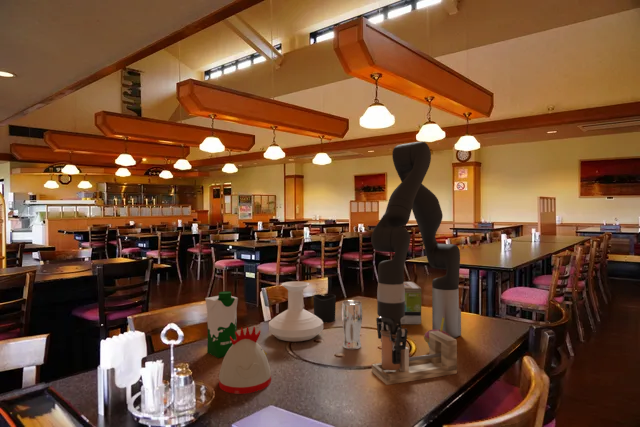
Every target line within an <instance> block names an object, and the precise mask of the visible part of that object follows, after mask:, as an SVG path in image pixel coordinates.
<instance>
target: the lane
mask: <svg viewBox="0 0 640 427" xmlns="http://www.w3.org/2000/svg"><path fill="white" fill-rule="evenodd" d="M457 341H458V340H457V339H456V338H452V337H450V336H448V335H446V334H444V333H442V332H439V331H431V332H429V345H428V348H429V349H428V350H429V353H428V355H430V354H437V353H441V357H435V358H428V359H421V360H414V361H409V371H406V372H401V371H400V370H386V369H384V368H382V362H378V363H372V364H371V373H372V374H373V375H375V376H376V377H377V378H378V379H379V380H380V381H382V382H383V383H384V384H385V386H388V385H394V384H395V385H396V384H400V383H406V382H413V381H419V380H424V379H431V378H438V377H442V376H450V375H451V376H452V375H455V374H457V373H458V351H457V350H458V346H457V345H458V342H457Z"/></svg>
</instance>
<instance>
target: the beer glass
mask: <svg viewBox="0 0 640 427" xmlns="http://www.w3.org/2000/svg"><path fill="white" fill-rule="evenodd" d="M362 305H363V304H362V301H360V300H356V299H347V300H343V301H342V302H341V322H342V329H343V343H342V347H343V348H344V349H347V350H358V349H361V348H362V343H361V329H362V322H363V306H362Z"/></svg>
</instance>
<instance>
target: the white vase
mask: <svg viewBox="0 0 640 427" xmlns="http://www.w3.org/2000/svg"><path fill="white" fill-rule="evenodd" d="M280 284H281V286H282V287H284V288H285V289H286V290H287V301H288V302H287V309H285V310H284V311H282V312H280V313H279V314H278V315H276V316H274V317H273V318H272V319H271V320H269V321H268V332H269V333H270V334H271V335H273V336H274V337H276V339H278V340H281V341H286V342H303V341H304V342H305V341H308V340H312V339H314V338H315V337H317V336H318V335H319V334H320V333H322V331H323V330H324V323H323V321H322V320H321V319H320V318H318V317H317V316H316V315H314V313H312V312H310V311H308V310H306V309H305V308H304V289H306V288H307V287H308V286H309V285H310V282H307V281H302V280H301V281H293V280H292V281H285V282H282V283H280Z"/></svg>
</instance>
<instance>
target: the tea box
mask: <svg viewBox="0 0 640 427" xmlns="http://www.w3.org/2000/svg"><path fill="white" fill-rule="evenodd" d="M404 289H405V316H404V317H402V318H401V325H421V324H422V288H421V286H419V284H417V283H415V282H414V281H404Z"/></svg>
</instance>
